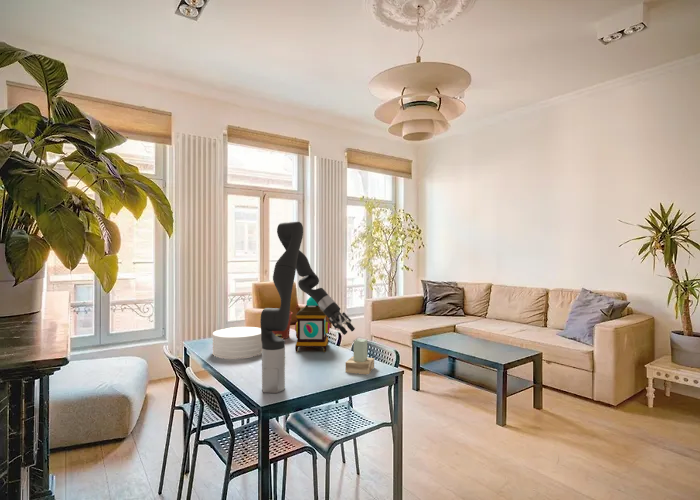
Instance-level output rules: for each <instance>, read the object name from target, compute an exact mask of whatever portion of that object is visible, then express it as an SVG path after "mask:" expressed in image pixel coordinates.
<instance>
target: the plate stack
mask: <svg viewBox="0 0 700 500" xmlns="http://www.w3.org/2000/svg"><path fill="white" fill-rule="evenodd" d="M213 355H214V356H213ZM257 355H258V356H261V355H262V342H261V327H257V326H256V327H255V326H235V327H234V326H233V327H226V328H222V329H217V330H215V331H213V332H212V356H213V357H215V356H216V357H215V358H217V357H219V358H218V359H223V358H224V360H225V359H226V360H242V359H248V358H254V357H257ZM253 356H254V357H253Z"/></svg>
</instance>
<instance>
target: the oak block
mask: <svg viewBox="0 0 700 500" xmlns="http://www.w3.org/2000/svg"><path fill="white" fill-rule="evenodd" d="M373 368H374V369H375V358H374V357H367V360H366V361H364V362H359V361H354V355H353V356H351V357H350V358H349V359H348V360H346V361H345V373H347V374H348V373H349V374H357V373H359V375H367V374H368V375H369V374H371V372H372V371H373V370H374V369H373ZM372 369H373V370H372ZM371 370H372V371H371Z"/></svg>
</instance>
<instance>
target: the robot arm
mask: <svg viewBox="0 0 700 500" xmlns="http://www.w3.org/2000/svg"><path fill="white" fill-rule="evenodd" d="M276 233H277V237H278V239H279V241H280V243H281V245H282V246H283V248H284V249H285V251H284V252H283V254H281V255H280V257H279V258H278V259H277V261H276V263H275V265H274V269H273V275H272V281H273V284H274V286H275V289H276V291H277V292H278V295H279V298H280V307H279V308H277V307H275V308H273V307H265V308H264V309H262V311H261V312H260V313H261V314H260V328H261V342H262V354H261V390H262V393H271V394H278V393H280V392H282V391H284V390H285V387H286V383H285V382H286V377H285V376H286V375H285V374H286V373H285V371H286V370H285V369H286V341H285V339H284V338H283V339H282V338H280V337H278V336H276V335H275V334H274V333H273V332H272V331H285V330H286V329H287V326H288V322H289V314H290V312H291V310H290V309H291V302H292V301H291V300H292V292H293V287H294V283H295V282H294V281H295V275H296V273H297V275H298V276H299V277H300V278H301V277H302V278H301V279H299V280H298V283H297V284H298V287H299V290H301V291H302V292H303V293H305V294H306V295H308V296H310V297H312V298H313V299H314V300H315V301H316V303H317V304H318V305H319V307H320V308H321V310H322V311H323V312H324V313H325V315H326V318H328V321H329V322H330V323H331V326H333V327H334V329H335V330H337V329H338V330H339V331H340V332H341V333H342V334H343V335H347V334H348V330H347V329H346V328H345V327H344V326H343V325H345V326H346V327H347V328H348V329H349V330H350V331H351V332H354V331H355V330H356V327H355V326H354V325H353V324H352V323H351V322H352V319H351V318H350V317H349V316H348V315H347V314H346V312H345V311H343V312H342V313H341V307H340V306H339V305H338V303H336V301H335V300H334V299H333V298H332V296H330V295H329V294H328V293H327V291H326V290H325V289H324V288H323V287H319V288H316V289H313V288H315V287H316V286H318V285H319V283H320V278H319V277H318V275H317V274H316V273H315V272H314V270H313V269H312V267H311V265H310V261H309V259H308V257H307V256H306V255H305V253H304V252H302V251H301V246H302V245H301V244H302V241H303V238H304V226H303V223H302V222H300V221H296V220H295V221H285V222H284V221H283V222H280V223H279V224H278V226H277V228H276Z"/></svg>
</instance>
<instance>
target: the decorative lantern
mask: <svg viewBox="0 0 700 500" xmlns="http://www.w3.org/2000/svg"><path fill="white" fill-rule="evenodd" d="M295 317H296V319H297V322H296V323H295V326H294V331H295V333H296V332H297V333H298V339H297V341H296V343H295V346H294V347H295V350H294V351H295V352H299V348H322V349H323V352H324V353H326V351H327V346H328V345H329V342H330V341H329V337H328V335H327V334H328V333H329V332H330V323H329V322H328V321H327V316H326V315H325V313H324V312H323V311H322V310H321V308H320V307H319V305H318V304H317V303H316V301H315V300H314V299H313V298H312V297H311V296H310V297H309V298H307V300H306V304H305V306H304V307H301V309H300V310H299V311H298V312H297V313H296V314H295Z"/></svg>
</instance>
